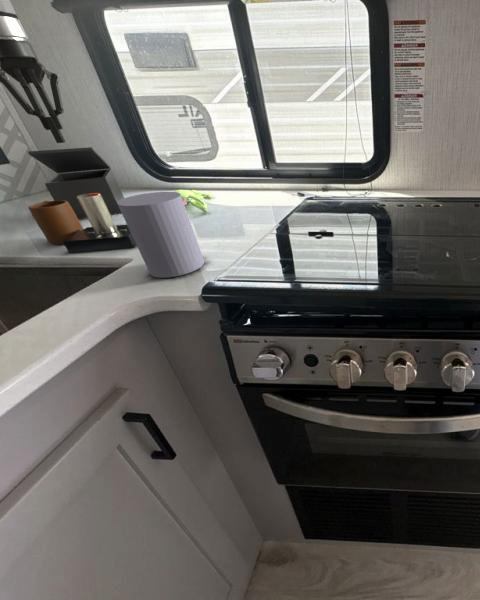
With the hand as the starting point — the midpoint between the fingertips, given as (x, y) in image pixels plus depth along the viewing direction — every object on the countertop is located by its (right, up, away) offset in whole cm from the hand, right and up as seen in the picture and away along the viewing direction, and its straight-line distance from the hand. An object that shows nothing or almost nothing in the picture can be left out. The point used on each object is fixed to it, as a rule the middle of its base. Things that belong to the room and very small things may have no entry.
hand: (61, 142), depth 96 cm
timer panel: (+25, -31, -11) cm, 42 cm away
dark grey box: (-2, -16, +14) cm, 21 cm away
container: (+51, -39, -24) cm, 68 cm away
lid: (-2, -3, +6) cm, 7 cm away
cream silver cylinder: (+25, -29, -13) cm, 40 cm away
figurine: (+26, -16, +14) cm, 33 cm away
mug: (+10, -29, -8) cm, 32 cm away
